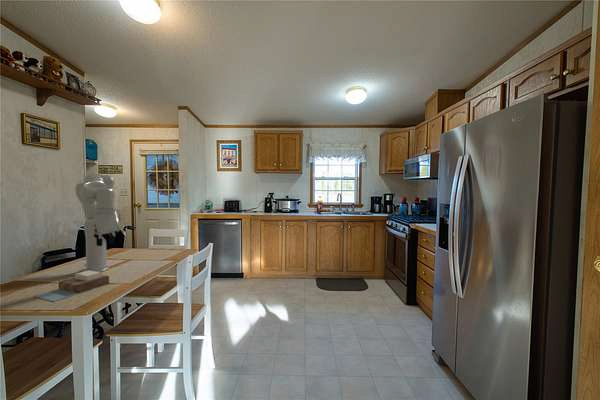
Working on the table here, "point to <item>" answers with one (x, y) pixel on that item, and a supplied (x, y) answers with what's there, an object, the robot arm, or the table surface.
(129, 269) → the table surface
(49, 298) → the mat
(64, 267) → the table surface
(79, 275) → the white rectangular block
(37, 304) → the table surface
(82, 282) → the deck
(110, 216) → the robot arm
